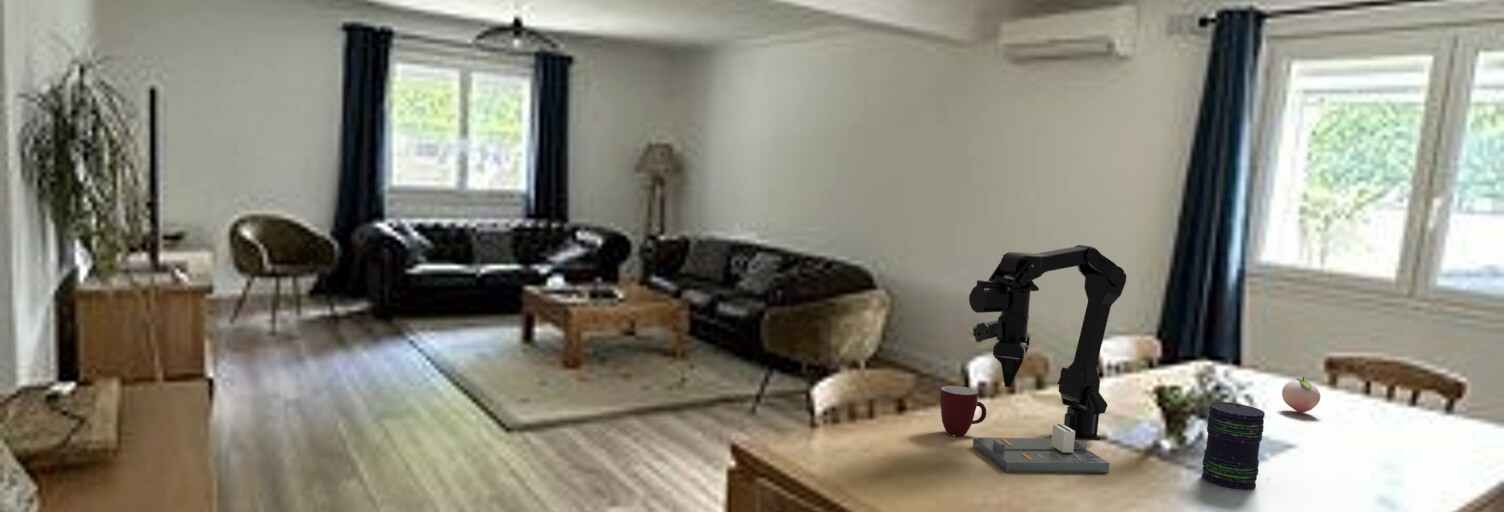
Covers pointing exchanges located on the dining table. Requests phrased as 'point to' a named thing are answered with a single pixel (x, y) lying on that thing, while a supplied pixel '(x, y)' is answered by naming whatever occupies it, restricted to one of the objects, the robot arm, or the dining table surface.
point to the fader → (1063, 438)
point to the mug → (959, 409)
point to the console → (1039, 456)
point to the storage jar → (1233, 446)
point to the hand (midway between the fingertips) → (1009, 382)
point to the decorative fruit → (1300, 395)
